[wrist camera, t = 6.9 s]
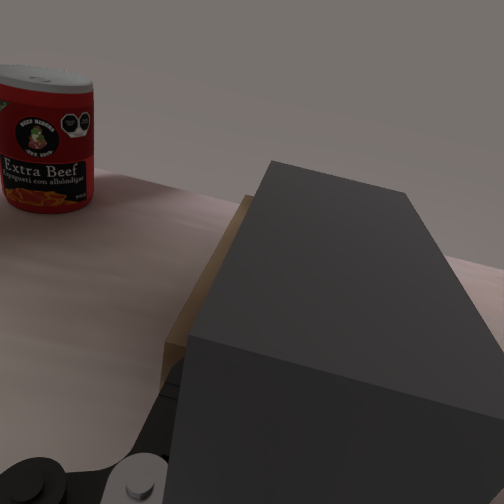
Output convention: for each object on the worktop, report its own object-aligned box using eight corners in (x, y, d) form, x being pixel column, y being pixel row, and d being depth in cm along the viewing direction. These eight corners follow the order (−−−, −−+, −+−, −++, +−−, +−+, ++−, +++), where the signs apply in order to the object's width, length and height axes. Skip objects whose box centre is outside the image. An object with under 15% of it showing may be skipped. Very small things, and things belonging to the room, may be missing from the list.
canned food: (-9, 212, 32) (-30, 71, 27) (16, 178, 39) (3, 60, 33) (89, 218, 34) (88, 90, 29) (97, 185, 41) (97, 76, 36)
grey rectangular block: (125, 740, 10) (187, 334, 3) (193, 501, 15) (271, 160, 8) (244, 779, 10) (577, 440, 3) (271, 524, 15) (414, 195, 8)
